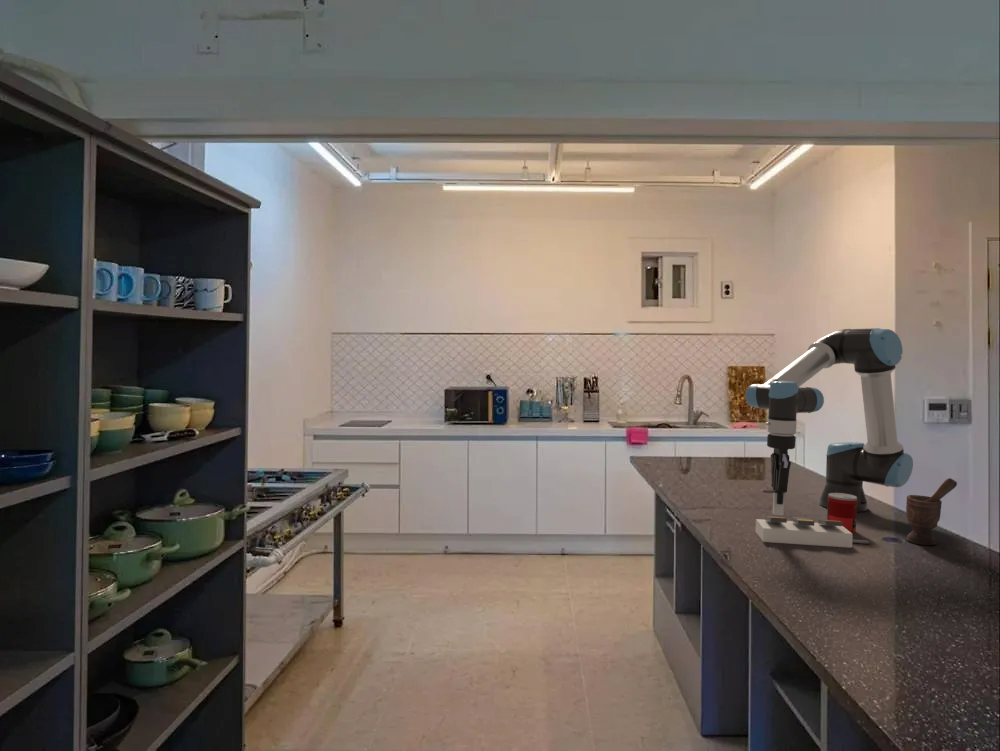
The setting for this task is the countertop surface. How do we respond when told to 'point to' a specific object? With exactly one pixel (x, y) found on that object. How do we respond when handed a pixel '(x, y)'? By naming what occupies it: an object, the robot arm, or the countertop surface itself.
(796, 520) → the rocker middle
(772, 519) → the block
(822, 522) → the rocker
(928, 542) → the mortar and pestle
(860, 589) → the countertop surface
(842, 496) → the canned food
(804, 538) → the rocker switch panel
